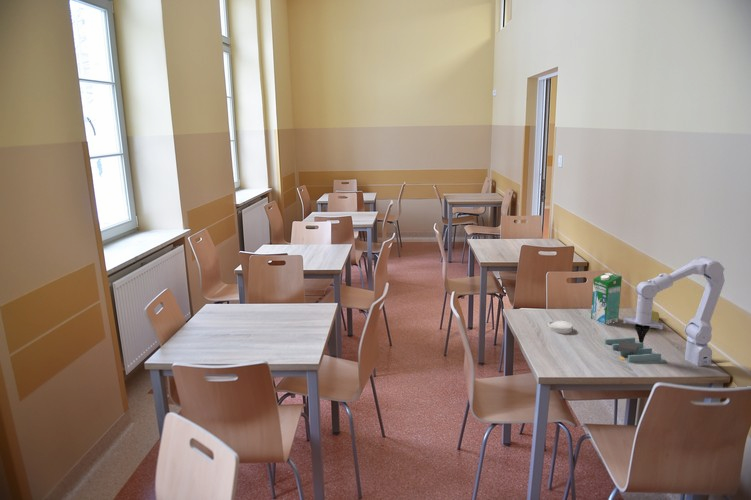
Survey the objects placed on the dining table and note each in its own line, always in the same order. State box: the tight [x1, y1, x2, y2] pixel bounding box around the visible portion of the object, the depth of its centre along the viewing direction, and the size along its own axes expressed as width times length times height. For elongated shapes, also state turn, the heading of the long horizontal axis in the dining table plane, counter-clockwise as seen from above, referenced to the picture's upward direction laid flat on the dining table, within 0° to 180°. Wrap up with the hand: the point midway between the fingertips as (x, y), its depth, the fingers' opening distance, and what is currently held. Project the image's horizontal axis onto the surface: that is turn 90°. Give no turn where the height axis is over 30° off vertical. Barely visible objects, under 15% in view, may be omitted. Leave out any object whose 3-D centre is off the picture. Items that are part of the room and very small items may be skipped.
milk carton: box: [590, 272, 623, 325], centre depth 261 cm, size 9×9×25 cm
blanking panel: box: [617, 340, 640, 354], centre depth 223 cm, size 2×8×7 cm
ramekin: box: [547, 320, 574, 334], centre depth 249 cm, size 11×11×5 cm
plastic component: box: [650, 310, 660, 329], centre depth 262 cm, size 20×7×10 cm, turn 168°
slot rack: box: [604, 337, 667, 364], centre depth 226 cm, size 21×18×3 cm
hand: (641, 341), depth 219 cm, fingers closed
